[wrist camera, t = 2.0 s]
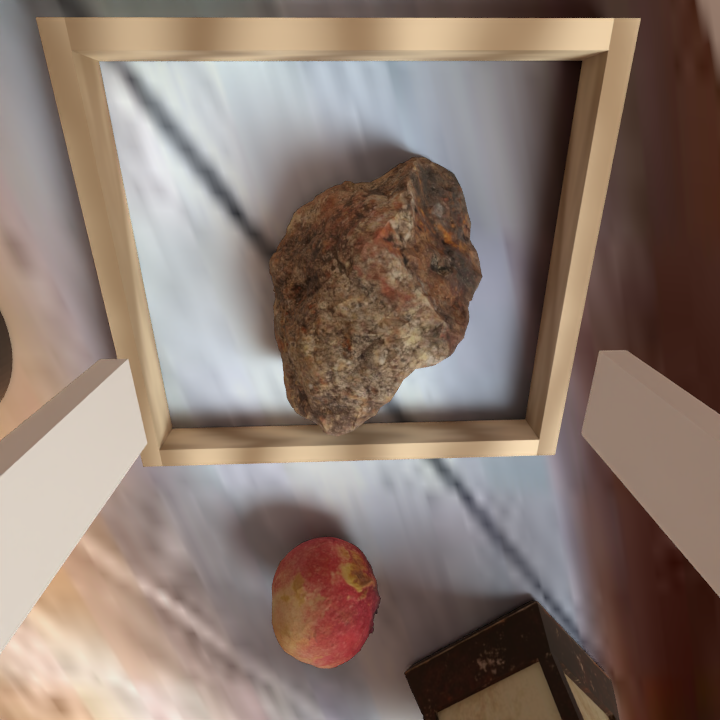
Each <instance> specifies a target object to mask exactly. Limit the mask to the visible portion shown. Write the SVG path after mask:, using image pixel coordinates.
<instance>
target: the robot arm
mask: <svg viewBox="0 0 720 720" xmlns="http://www.w3.org/2000/svg"><path fill="white" fill-rule="evenodd" d="M11 372H12V348H11V342H10V337H9V333H8V330H7V327H6V324H5V321H4V319H3V316H2V314H1V312H0V402H1V400H2V398H3V397H4V395H5V393H6V391H7V388H8V385H9V382H10V378H11ZM581 434H582V436H583V437H584V438H585V439H586V440H587V442H588V443H589V444H590V445H591V446H592V447H593V449H594V450H595V451H596V452H597V453H598V454H599V456H600V457H601V458H602V459H603V460H604V462H605V463H606V464H607V465H608V466H609V467H610V469H611V470H612V471H613V472H614V473H615V474H616V476H617V477H618V478H619V479H620V480H621V482H622V483H623V484H624V485H625V486H626V487H627V489H628V490H629V491H630V492H631V493H632V494H633V496H634V497H635V498H636V499H637V500H638V502H639V503H640V504H641V505H642V506H643V507H644V509H645V510H646V511H647V512H648V513H649V514H650V516H651V517H652V518H653V519H654V520H655V522H656V523H657V524H658V525H659V526H660V527H661V529H662V530H663V531H664V532H665V533H666V534H667V536H668V537H669V538H670V539H671V540H672V542H673V543H674V544H675V545H676V546H677V547H678V549H679V550H680V551H681V552H682V553H683V554H684V556H685V557H686V558H687V559H688V560H689V562H690V563H691V564H692V565H693V566H694V567H695V569H696V570H697V571H698V572H699V573H700V574H701V576H702V577H703V578H704V579H705V580H706V582H707V583H708V584H709V585H710V586H711V587H712V589H713V590H714V591H715V592H716V593H717V594H718V596H719V597H720V414H718V413H717V412H715V411H714V410H712V409H711V408H709V407H708V406H706V405H705V404H704V403H702V402H701V401H699V400H698V399H696V398H695V397H693V396H692V395H690V394H689V393H688V392H686V391H685V390H683V389H682V388H680V387H679V386H677V385H676V384H674V383H673V382H672V381H670V380H669V379H667V378H666V377H664V376H663V375H661V374H660V373H658V372H657V371H656V370H654V369H653V368H651V367H650V366H648V365H647V364H645V363H644V362H643V361H641V360H640V359H638V358H637V357H635V356H634V355H632V354H631V353H629V352H628V351H627V350H613V351H599V355H598V359H597V364H596V368H595V373H594V378H593V382H592V387H591V391H590V396H589V401H588V405H587V410H586V414H585V419H584V424H583V428H582V433H581ZM146 445H147V439H146V435H145V431H144V426H143V422H142V417H141V413H140V409H139V404H138V400H137V395H136V391H135V387H134V382H133V378H132V373H131V369H130V365H129V360H128V359H100V360H99V361H97V362H96V363H95V364H94V365H92V366H91V367H90V368H89V369H88V370H86V371H85V372H84V373H83V374H81V375H80V376H79V377H78V378H77V379H75V380H74V381H73V382H72V383H70V384H69V385H68V386H67V387H66V388H64V389H63V390H62V391H61V392H59V393H58V394H57V395H56V396H55V397H53V398H52V399H51V400H50V401H48V402H47V403H46V404H45V405H43V406H42V407H41V408H40V409H39V410H37V411H36V412H35V413H34V414H32V415H31V416H30V417H29V418H28V419H26V420H25V421H24V422H23V423H21V424H20V425H19V426H18V427H17V428H15V429H14V430H13V431H12V432H10V433H9V434H8V435H7V436H6V437H4V438H3V439H2V440H1V441H0V654H1V652H2V651H3V650H4V648H5V647H6V645H7V644H8V642H9V641H10V640H11V638H12V637H13V635H14V634H15V632H16V631H17V629H18V628H19V627H20V625H21V624H22V622H23V621H24V619H25V618H26V617H27V615H28V614H29V612H30V611H31V609H32V608H33V607H34V605H35V604H36V602H37V601H38V599H39V598H40V597H41V595H42V594H43V592H44V591H45V589H46V588H47V586H48V585H49V584H50V582H51V581H52V579H53V578H54V576H55V575H56V574H57V572H58V571H59V569H60V568H61V566H62V565H63V564H64V562H65V561H66V559H67V558H68V556H69V555H70V554H71V552H72V551H73V549H74V548H75V546H76V545H77V543H78V542H79V541H80V539H81V538H82V536H83V535H84V533H85V532H86V531H87V529H88V528H89V526H90V525H91V523H92V522H93V521H94V519H95V518H96V516H97V515H98V513H99V512H100V511H101V509H102V508H103V506H104V505H105V503H106V502H107V500H108V499H109V498H110V496H111V495H112V493H113V492H114V490H115V489H116V488H117V486H118V485H119V483H120V482H121V480H122V479H123V478H124V476H125V475H126V473H127V472H128V470H129V469H130V467H131V466H132V465H133V463H134V462H135V460H136V459H137V457H138V456H139V455H140V453H141V452H142V450H143V449H144V447H145V446H146Z"/></svg>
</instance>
